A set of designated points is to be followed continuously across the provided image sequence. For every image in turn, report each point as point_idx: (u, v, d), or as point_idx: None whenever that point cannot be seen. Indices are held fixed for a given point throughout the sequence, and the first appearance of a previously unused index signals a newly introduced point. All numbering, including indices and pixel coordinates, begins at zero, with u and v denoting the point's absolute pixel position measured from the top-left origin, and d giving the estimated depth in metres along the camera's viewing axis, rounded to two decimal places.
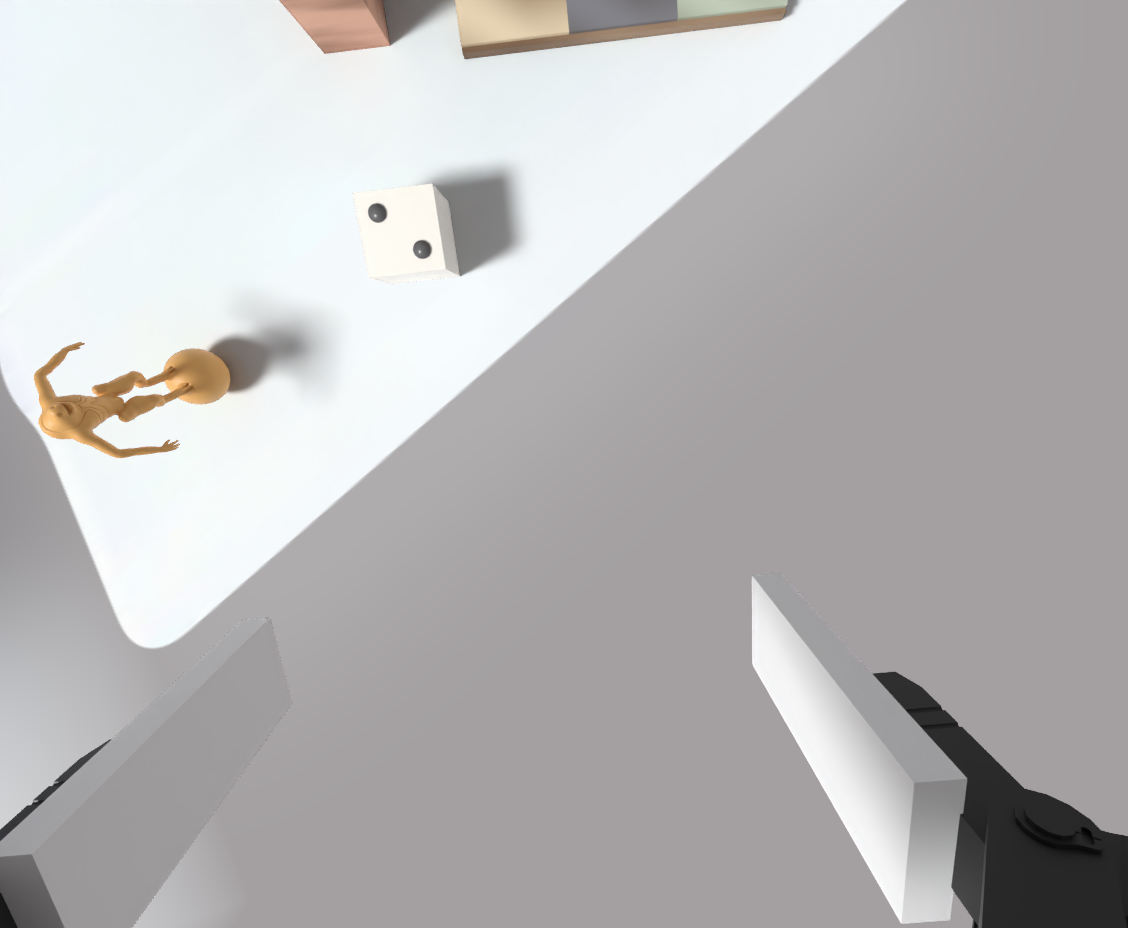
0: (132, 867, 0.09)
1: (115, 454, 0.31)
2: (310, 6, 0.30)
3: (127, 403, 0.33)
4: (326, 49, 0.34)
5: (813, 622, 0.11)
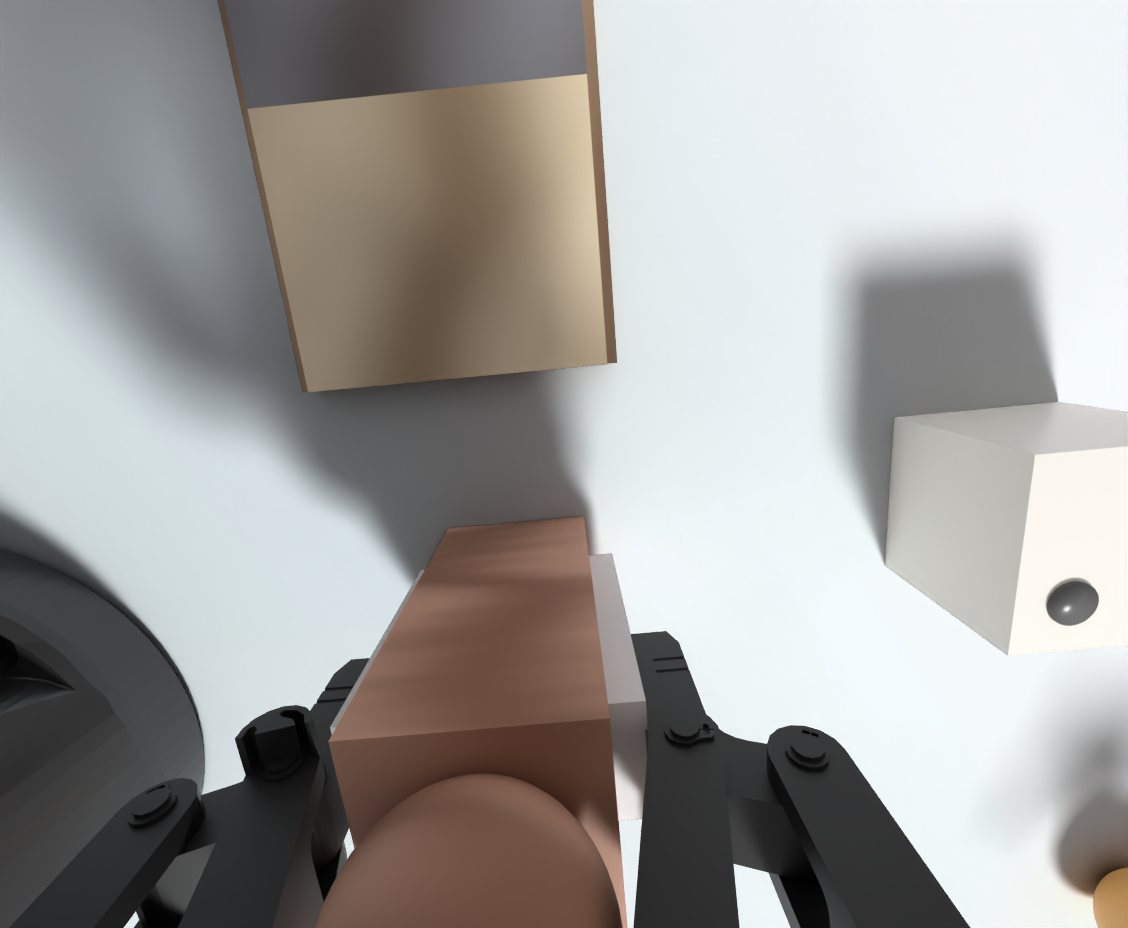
0: None
1: None
2: None
3: None
4: None
5: (611, 592, 0.14)
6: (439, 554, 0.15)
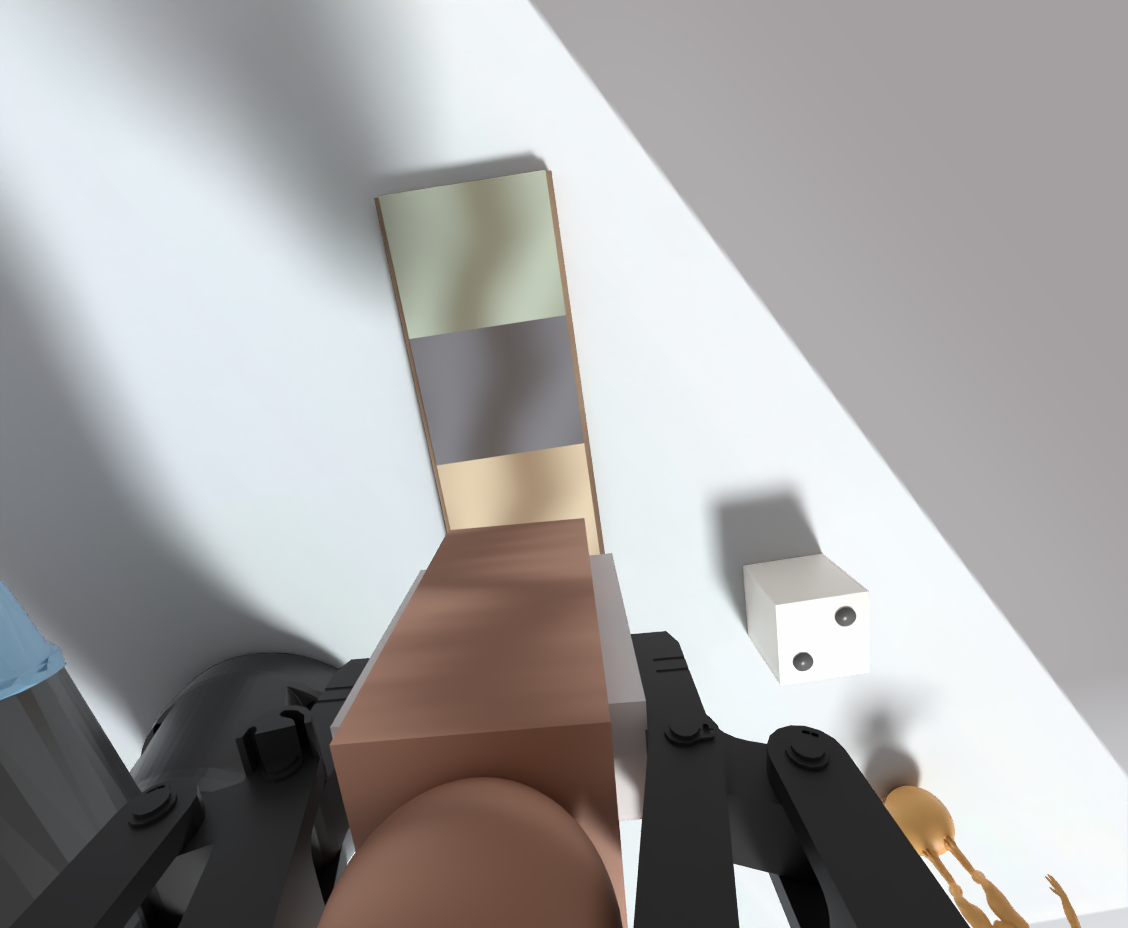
0: None
1: None
2: None
3: (1004, 919, 0.30)
4: None
5: (611, 592, 0.14)
6: (440, 556, 0.15)
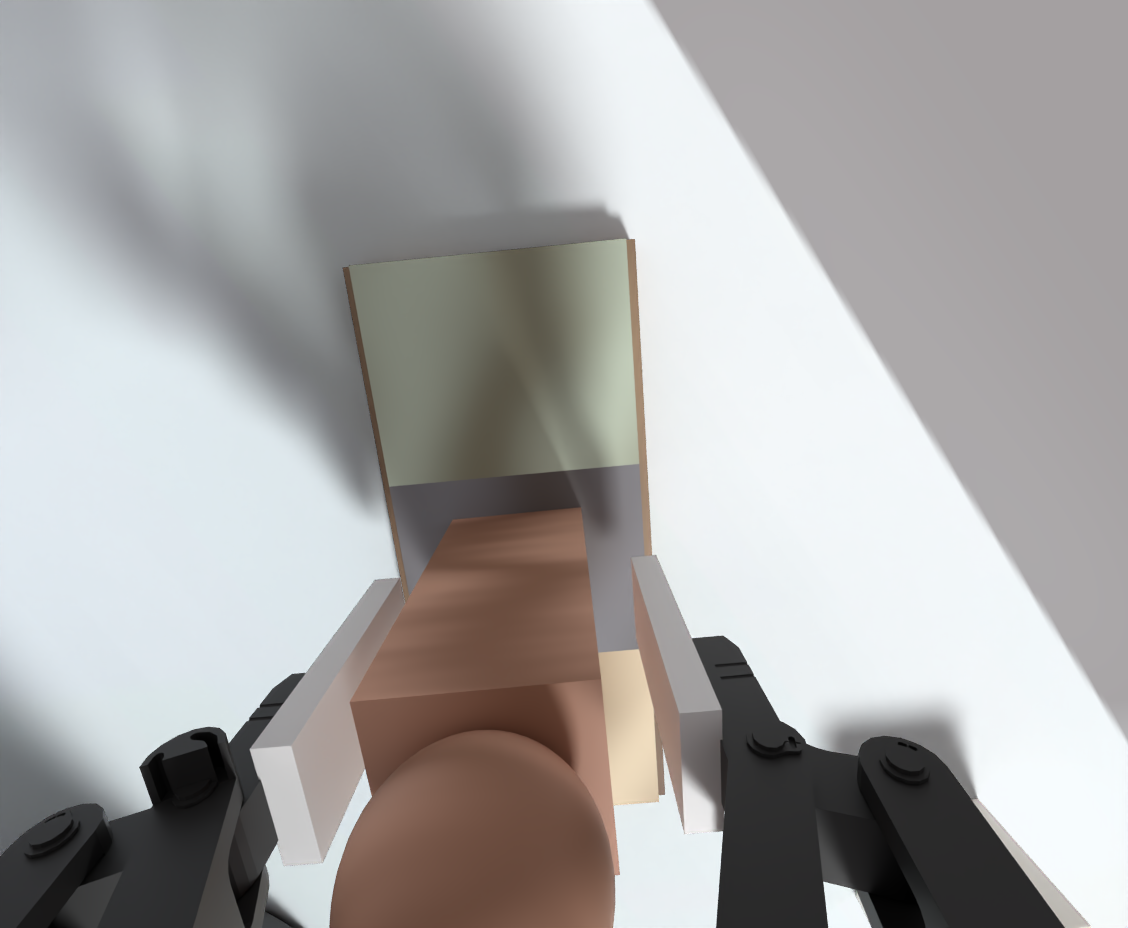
0: (338, 773, 0.11)
1: None
2: None
3: None
4: None
5: (663, 595, 0.13)
6: (445, 543, 0.16)
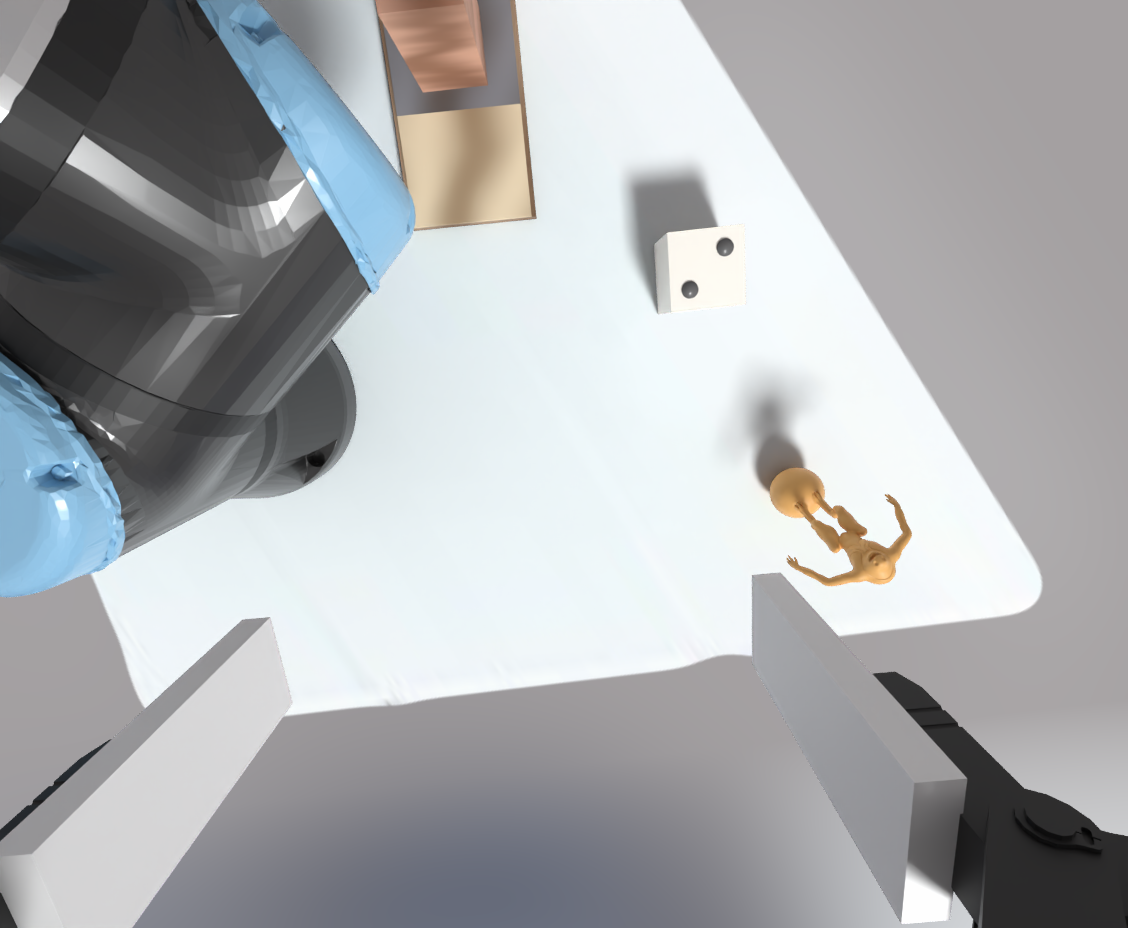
0: (132, 867, 0.09)
1: (909, 534, 0.34)
2: (473, 18, 0.30)
3: (848, 528, 0.36)
4: (486, 76, 0.34)
5: (813, 622, 0.11)
6: None
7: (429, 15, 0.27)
